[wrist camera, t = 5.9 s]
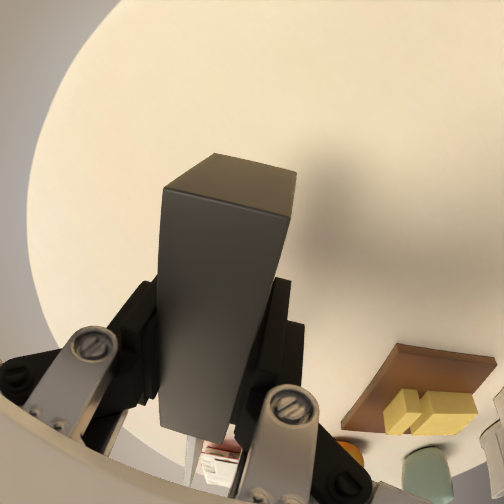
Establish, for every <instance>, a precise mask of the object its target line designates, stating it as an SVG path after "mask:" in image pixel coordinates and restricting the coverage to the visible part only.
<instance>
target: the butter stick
mask: <svg viewBox="0 0 504 504" xmlns="http://www.w3.org/2000/svg"><path fill="white" fill-rule="evenodd" d="M420 404H421V408H422V412H423V413H422V415H421V416H420V417H419V418H418V419H417V420H416V421H415V422H414V423H413V424H412V425H411V426H410V429H411V435H456V434H457V433H458V432H460V431H461V430H462V429H463V428H464V427H465V426H466V425H467V424H468V423H469V422H470V421H471V420H472V419H473V418H474V417H475V416H476V415H477V414H478V411H477V408H476V405H475V402H474V399H473V397H472V394H471V393H458V392H440V391H427V392H426V393H425V394H424V395H423V397H422V398H421V399H420Z"/></svg>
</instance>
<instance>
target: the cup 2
mask: <svg viewBox="0 0 504 504" xmlns="http://www.w3.org/2000/svg"><path fill="white" fill-rule="evenodd" d="M480 445H481V448H483V449H484V451H485V455H486V459H487V464H488V468H489V475H490V482H491V492H492V499H496V498H499V497H502V496H504V430H503V427H502V423H501V420H500V421H498V422H497V423H495V424H494V425H492V426H491V427H490V428H489V429H487V430H486V432H485V433H484V434H483V435H482V437H481V439H480Z"/></svg>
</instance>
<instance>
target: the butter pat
mask: <svg viewBox="0 0 504 504" xmlns="http://www.w3.org/2000/svg"><path fill="white" fill-rule="evenodd" d="M422 413H423V412H422V408H421V404H420V399H419V395H418V391H417V390H415V389H404V388H402V389H401V390H400V392H399V393H398V394H397V395H396V397H395V398H394V399H393V400H392V401H391V403H390V404H389V405H388V406H387V407H386V408H385V410H384V411H383V416H384V423H385V431H386V434H387V435H402V434H403V433H404V432H405V431H406V430H407V429H408V428H409V427H410V426H411V425H412V424H413V423H414V422H415V421H416V420H417V419H418V418H419V417H420V416H421V415H422Z"/></svg>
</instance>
